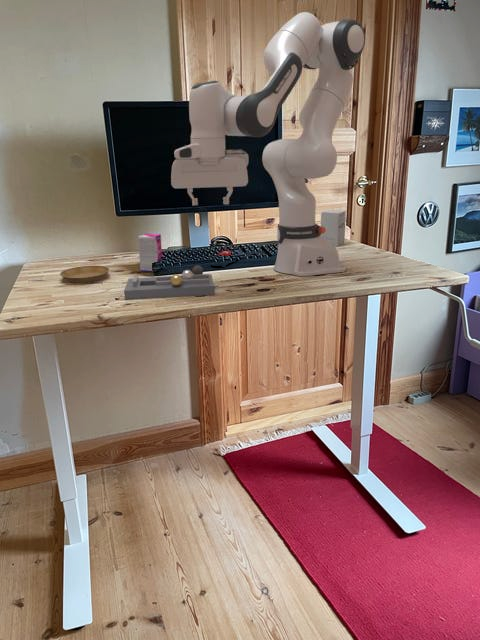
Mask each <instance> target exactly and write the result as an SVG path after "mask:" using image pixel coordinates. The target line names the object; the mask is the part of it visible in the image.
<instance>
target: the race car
mask: <svg viewBox="0 0 480 640" xmlns="http://www.w3.org/2000/svg"><path fill="white" fill-rule="evenodd" d="M232 252H233V251H230V250H224V251H221V252H219V253H218V254H219V255H222V256H228V255H230V254H231V253H232Z"/></svg>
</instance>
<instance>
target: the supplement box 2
mask: <svg viewBox="0 0 480 640" xmlns="http://www.w3.org/2000/svg"><path fill="white" fill-rule="evenodd" d="M346 215H347V210H343V209H342V210H341V209H339V210H338V209H327V210H324V211H321V212H320V226H323V227H324V228H325V230H326V232H324V234H321V235H320V236H322V237H323V238H324V239H325V240H327V241H328V242H329V243H330V244H332V245H333V246H334V247H335V248H337V247H339V246H341V245H343V244H345V236H346V235H345V234H346V222H347V221H346V218H347V217H346Z"/></svg>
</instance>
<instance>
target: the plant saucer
mask: <svg viewBox="0 0 480 640" xmlns="http://www.w3.org/2000/svg"><path fill="white" fill-rule="evenodd" d="M109 272H110V268H109V267H107V266H106V265H105V266H104V265H82V266H75V267H70V268H67V269H65V270H62V271H60V272H59V276H60V277H62V278H63V279H64V280H65V281H67V282H68V283H71V284H79V285H80V284H92V283H95V282H98V281H101V280H103V279H105V277H106V276H107V274H108V273H109Z"/></svg>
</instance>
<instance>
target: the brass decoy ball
mask: <svg viewBox="0 0 480 640" xmlns="http://www.w3.org/2000/svg"><path fill="white" fill-rule="evenodd" d="M179 275H180V274H173V275H171V276H172V277H171V280H170V281H171V284H172V285H173V286H180V285H181V284H182V278H181V276H179Z"/></svg>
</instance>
